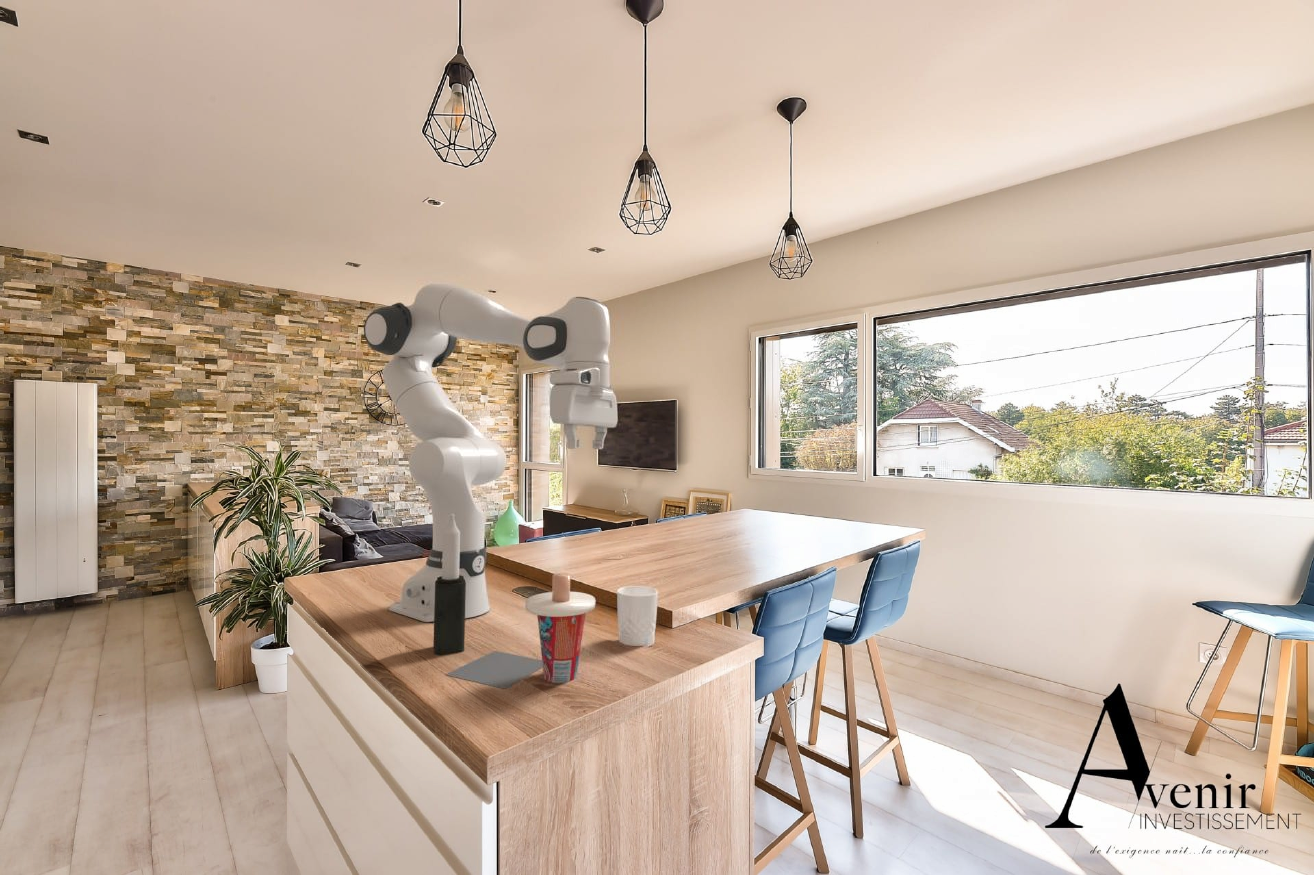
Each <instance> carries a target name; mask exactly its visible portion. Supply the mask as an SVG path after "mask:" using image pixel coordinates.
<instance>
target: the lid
mask: <svg viewBox="0 0 1314 875" xmlns="http://www.w3.org/2000/svg"><path fill="white" fill-rule="evenodd" d="M551 584H552V585H551V586H552V590H551V591H549V592H542V593H538V594H537V593H536V594H535V595H531V596H529V597H528V598H526V599H525V610H526V611H527V612H528V613H530V614H532V615H541V616H550V617H564V616H574V615H580V614H584V613H586V614H587V613H590V612H591V611H593V610H594V609H595V608H596V598H595V596H593V595H592V594H589V593H584V592H579V591H571V573H566V572H560V573H553V574H552V582H551Z"/></svg>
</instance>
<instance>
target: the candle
mask: <svg viewBox="0 0 1314 875" xmlns="http://www.w3.org/2000/svg"><path fill="white" fill-rule="evenodd" d="M459 559H460V531H459V530H458V528H457V527H456V523H455V520H454V514H450V520H449V523H448V526H447V528H446V529H445V531H444V532H443V555H442V576H440V577H438V578H437V580H436V581H435V605H434V621H433V645H432V646H433V648H432V649H433V654H434V655H436V656H444V655H452V654H460V653H463V652H464V651H465V636H466V634H465V632H466V618H465V598H466V582H465V579H464V577H463V576H461V575H459Z"/></svg>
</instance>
